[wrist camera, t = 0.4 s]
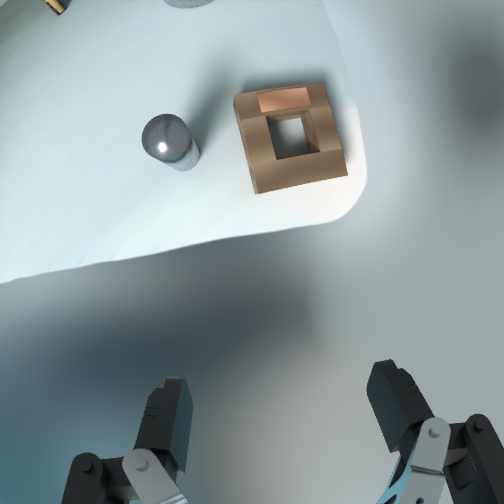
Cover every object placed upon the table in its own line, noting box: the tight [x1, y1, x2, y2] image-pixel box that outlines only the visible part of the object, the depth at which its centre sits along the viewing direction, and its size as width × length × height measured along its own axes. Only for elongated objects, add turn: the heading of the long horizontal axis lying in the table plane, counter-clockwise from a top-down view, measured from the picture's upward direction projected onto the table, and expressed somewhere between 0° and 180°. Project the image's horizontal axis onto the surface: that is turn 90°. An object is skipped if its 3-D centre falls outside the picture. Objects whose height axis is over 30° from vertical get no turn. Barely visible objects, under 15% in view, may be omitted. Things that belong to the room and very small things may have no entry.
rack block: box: [233, 83, 348, 194], centre depth 32 cm, size 12×11×4 cm
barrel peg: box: [142, 114, 200, 171], centre depth 27 cm, size 4×4×12 cm
